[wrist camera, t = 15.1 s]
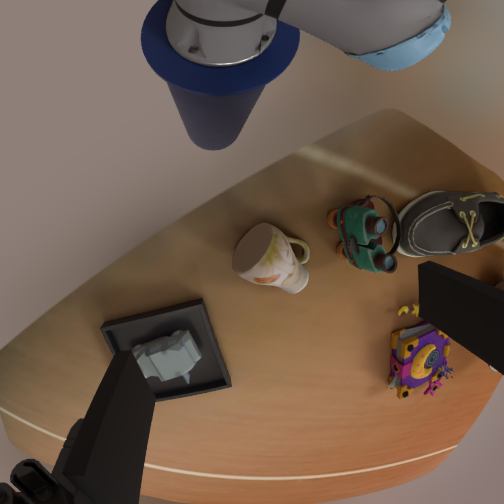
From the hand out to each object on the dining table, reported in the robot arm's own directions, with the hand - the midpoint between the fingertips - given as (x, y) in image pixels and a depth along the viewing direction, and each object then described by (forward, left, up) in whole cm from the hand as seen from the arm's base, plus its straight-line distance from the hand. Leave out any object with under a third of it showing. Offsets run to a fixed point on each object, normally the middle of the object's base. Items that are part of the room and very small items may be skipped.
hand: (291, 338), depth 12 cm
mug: (+4, +4, -27) cm, 27 cm away
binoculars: (+3, +17, -27) cm, 32 cm away
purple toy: (+30, +27, -27) cm, 49 cm away
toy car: (+14, -14, -26) cm, 33 cm away
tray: (+14, -14, -27) cm, 33 cm away
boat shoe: (+6, +36, -27) cm, 46 cm away
